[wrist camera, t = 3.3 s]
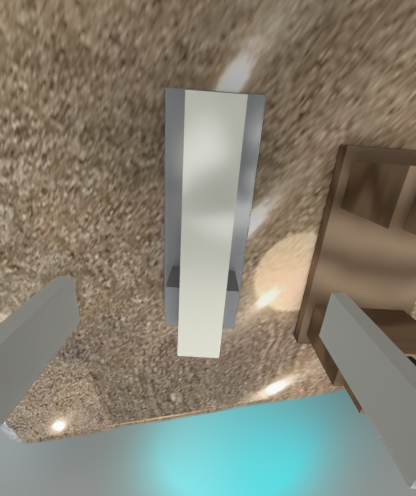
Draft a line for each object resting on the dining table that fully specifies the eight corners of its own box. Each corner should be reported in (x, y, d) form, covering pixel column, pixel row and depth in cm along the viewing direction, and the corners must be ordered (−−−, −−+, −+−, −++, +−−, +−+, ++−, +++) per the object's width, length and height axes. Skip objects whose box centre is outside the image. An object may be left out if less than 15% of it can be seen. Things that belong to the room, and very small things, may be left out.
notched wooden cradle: (340, 145, 27) (439, 141, 15) (466, 154, 27) (658, 157, 16) (293, 335, 36) (333, 422, 25) (387, 341, 37) (469, 429, 25)
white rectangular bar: (191, 103, 20) (185, 89, 16) (239, 107, 20) (247, 94, 16) (182, 321, 28) (177, 355, 24) (217, 324, 28) (218, 357, 24)
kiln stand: (166, 89, 25) (154, 72, 20) (264, 97, 25) (279, 81, 20) (165, 304, 35) (156, 334, 29) (236, 309, 35) (241, 339, 29)
